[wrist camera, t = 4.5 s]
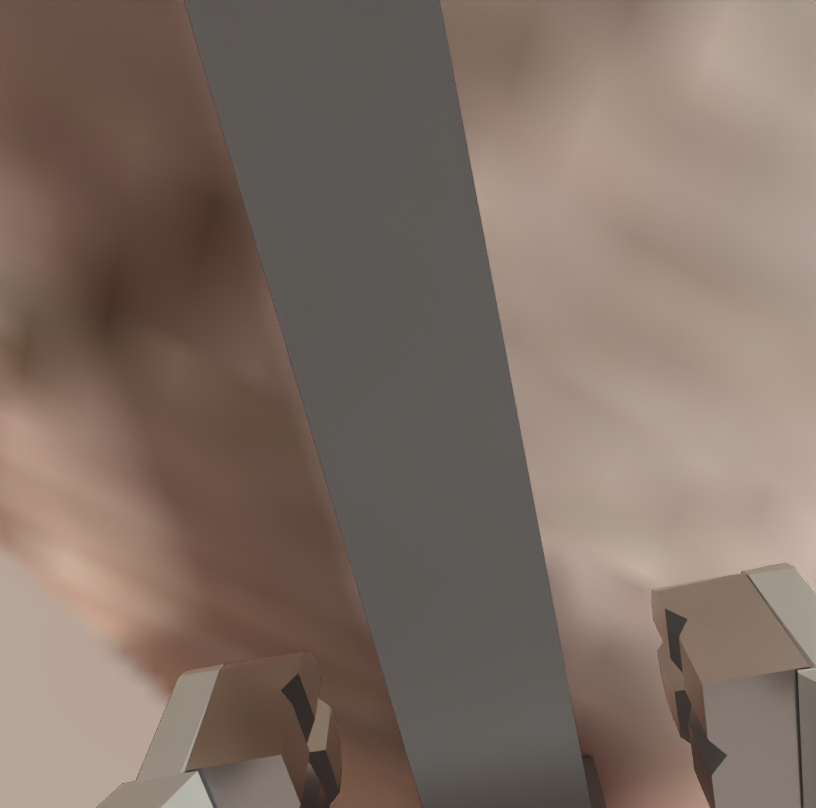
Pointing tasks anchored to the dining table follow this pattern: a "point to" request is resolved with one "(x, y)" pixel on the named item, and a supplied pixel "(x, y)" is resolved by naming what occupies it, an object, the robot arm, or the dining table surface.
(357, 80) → the hoe scraper
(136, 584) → the dining table surface
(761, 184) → the dining table surface
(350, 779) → the dining table surface
